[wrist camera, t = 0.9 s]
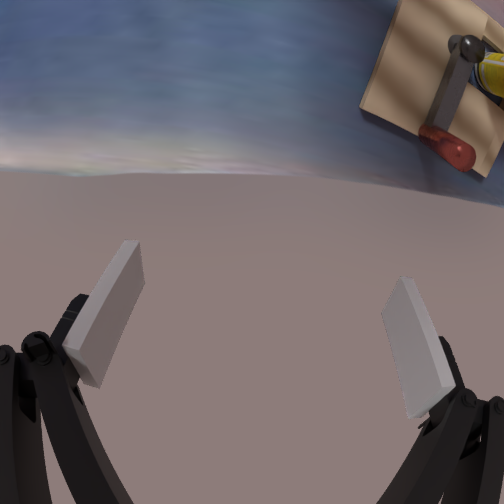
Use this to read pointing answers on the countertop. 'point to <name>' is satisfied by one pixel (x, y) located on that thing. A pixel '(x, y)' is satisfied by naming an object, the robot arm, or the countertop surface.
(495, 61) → the pill bottle
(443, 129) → the lever
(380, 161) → the countertop surface
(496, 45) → the tan flat square sheet
